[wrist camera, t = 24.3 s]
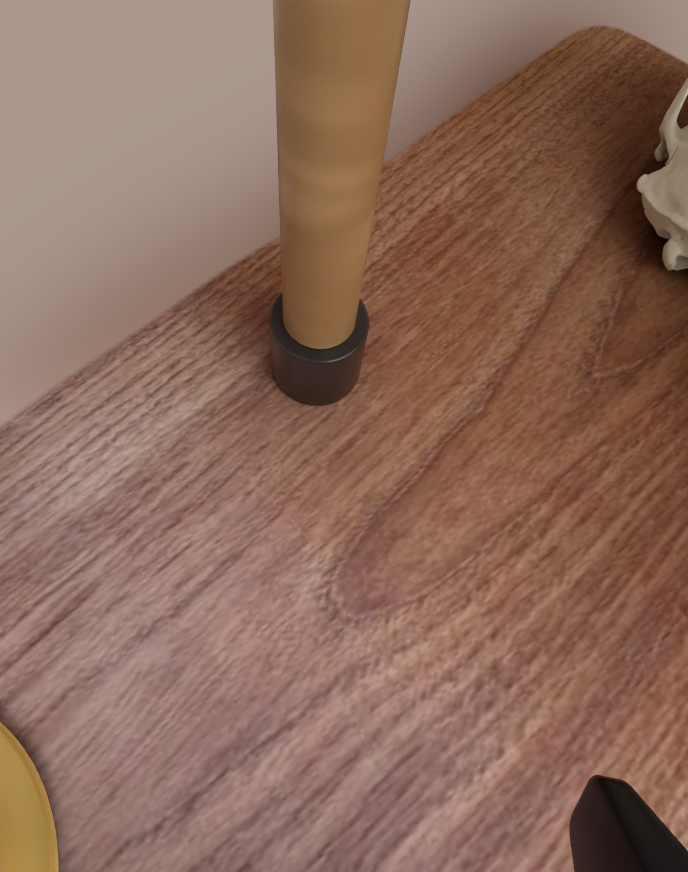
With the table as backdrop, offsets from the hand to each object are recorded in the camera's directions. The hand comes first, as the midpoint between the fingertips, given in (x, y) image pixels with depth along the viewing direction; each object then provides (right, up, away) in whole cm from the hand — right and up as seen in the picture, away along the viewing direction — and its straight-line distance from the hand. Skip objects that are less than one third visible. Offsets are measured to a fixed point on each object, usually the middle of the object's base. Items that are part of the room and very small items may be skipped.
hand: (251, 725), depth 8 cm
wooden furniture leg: (0, +7, +16) cm, 18 cm away
